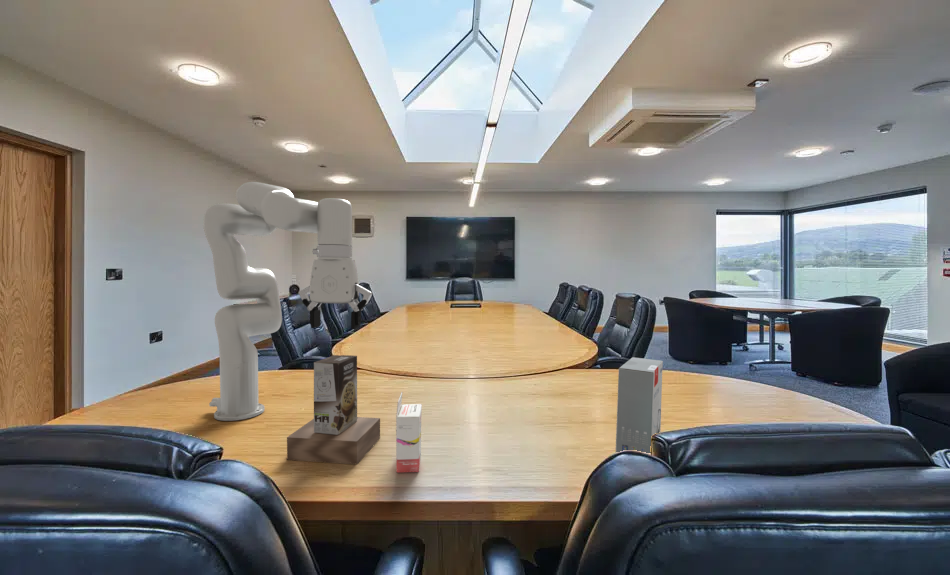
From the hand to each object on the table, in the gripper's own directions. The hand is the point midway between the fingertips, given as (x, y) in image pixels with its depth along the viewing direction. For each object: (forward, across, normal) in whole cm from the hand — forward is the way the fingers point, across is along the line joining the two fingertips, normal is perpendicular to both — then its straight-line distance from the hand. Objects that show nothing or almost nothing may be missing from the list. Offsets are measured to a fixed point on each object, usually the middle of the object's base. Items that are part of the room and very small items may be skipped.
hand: (335, 327), depth 94 cm
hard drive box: (+28, +71, +11) cm, 77 cm away
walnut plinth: (+28, 0, 0) cm, 28 cm away
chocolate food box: (+24, 0, 0) cm, 24 cm away
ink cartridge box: (+28, +19, -5) cm, 35 cm away
